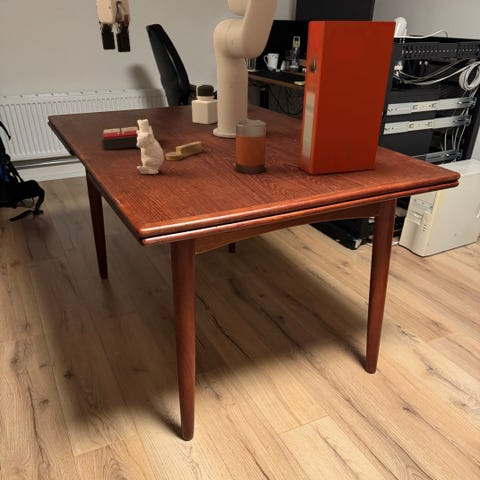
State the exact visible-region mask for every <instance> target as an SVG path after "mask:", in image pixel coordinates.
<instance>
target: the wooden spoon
mask: <svg viewBox="0 0 480 480" xmlns="http://www.w3.org/2000/svg"><path fill="white" fill-rule="evenodd" d="M202 152H203V142H202V141H193V142H190V143H186V144H182V145H178V146H176V147H175V151H169V152H166V153H165V159H166V160H167V161H171V162H172V161H173V162H174V161H180V160H183V158H186V157H188V156H192V155H196V154H200V153H202Z"/></svg>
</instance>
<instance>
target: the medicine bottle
mask: <svg viewBox="0 0 480 480" xmlns="http://www.w3.org/2000/svg"><path fill="white" fill-rule="evenodd" d="M214 98H215V87H214V86H213V85H212V84H199V85H197V86H196V99H193V100H192V101H191V117H192V123H193V124H194V123H195V124H201V125H202V124H203V125H211V124H215V123H218V111H217V99H214Z"/></svg>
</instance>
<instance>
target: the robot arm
mask: <svg viewBox="0 0 480 480" xmlns="http://www.w3.org/2000/svg"><path fill="white" fill-rule="evenodd" d="M95 3H96V10H97V12H96V13H97V18H98V25H99V30H100V35H101V43H102V49H103V50H104V51H112V50H113V51H114V50H116V48H117V52H118V53H130V52H131V41H130V40H131V39H130V28H129V26H130V23H131V12H130V4H129V0H95ZM278 3H279V0H227V6H228V9H229V11H230V12H231V13H232V14H234V15H236V16H238V17H243V18H228V19H224V20H221V21H220V22H219V23H218V24H217V25H216V26H215V28H214V31H213V35H212V44H213V51H214V56H215V64H216V95H217V96H216V100H217V111H218V122H217V127H216V128H214V129H213V130H212V134H213V135H214V136H215V137H219V138H225V139H236V123H238V122H239V121H245V120H251V118H248V105H249V103H248V102H249V101H248V99H249V98H248V97H249V95H248V93H249V91H248V90H249V70H248V65H247V61H246V59H247V60H251V59H256V58H258V57H260V55H262V54H263V52H264V50H265V48H266V46H267V43H268V40H269V37H270V33H271V31H272V27H273V23H274V19H275V16H276V12H277V9H278ZM113 26H114V28H115V31H116V33H114V31H113ZM115 38H116V39H115ZM255 120H256V121H261V120H260V119H255Z"/></svg>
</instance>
